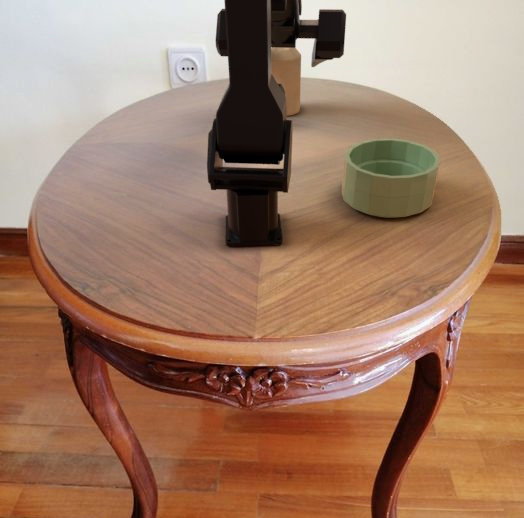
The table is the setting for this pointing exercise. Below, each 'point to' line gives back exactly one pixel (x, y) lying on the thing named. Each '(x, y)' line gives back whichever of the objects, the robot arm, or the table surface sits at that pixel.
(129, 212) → the table surface
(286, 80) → the candle
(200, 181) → the table surface
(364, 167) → the green pet bowl
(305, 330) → the table surface
